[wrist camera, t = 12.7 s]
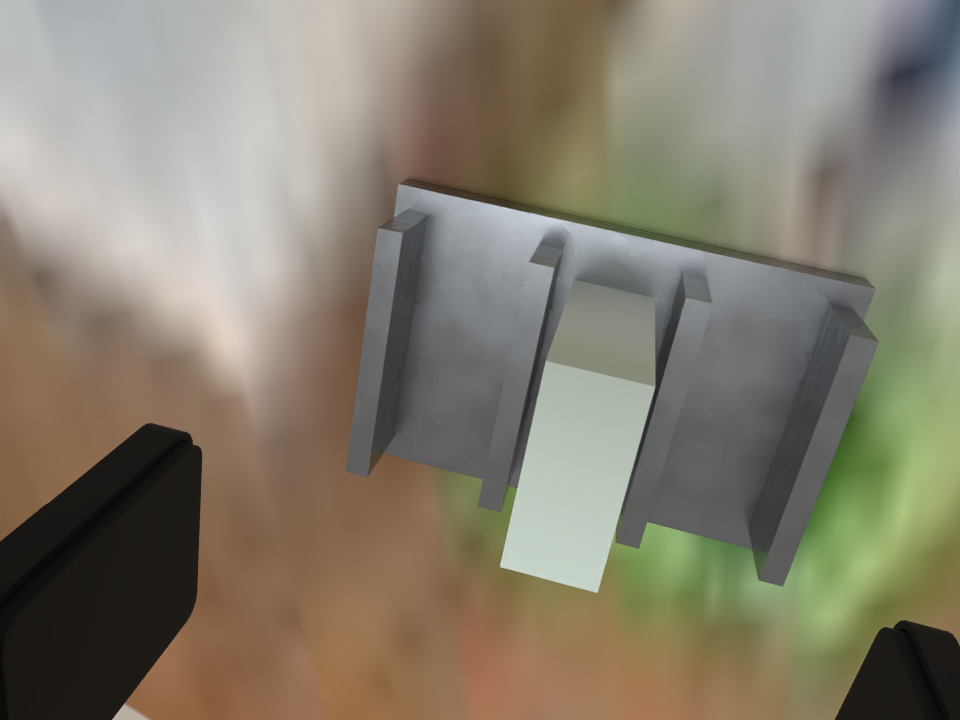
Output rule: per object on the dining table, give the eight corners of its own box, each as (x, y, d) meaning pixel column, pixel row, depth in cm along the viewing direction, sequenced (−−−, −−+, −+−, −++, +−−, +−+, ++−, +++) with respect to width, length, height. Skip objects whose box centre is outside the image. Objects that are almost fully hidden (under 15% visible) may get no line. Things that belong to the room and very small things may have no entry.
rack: (408, 179, 37) (368, 199, 32) (866, 279, 34) (903, 318, 29) (371, 434, 42) (332, 487, 37) (770, 537, 39) (787, 609, 34)
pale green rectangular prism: (573, 279, 35) (545, 360, 26) (654, 297, 35) (655, 386, 26) (536, 442, 38) (500, 566, 29) (610, 461, 38) (597, 593, 29)
